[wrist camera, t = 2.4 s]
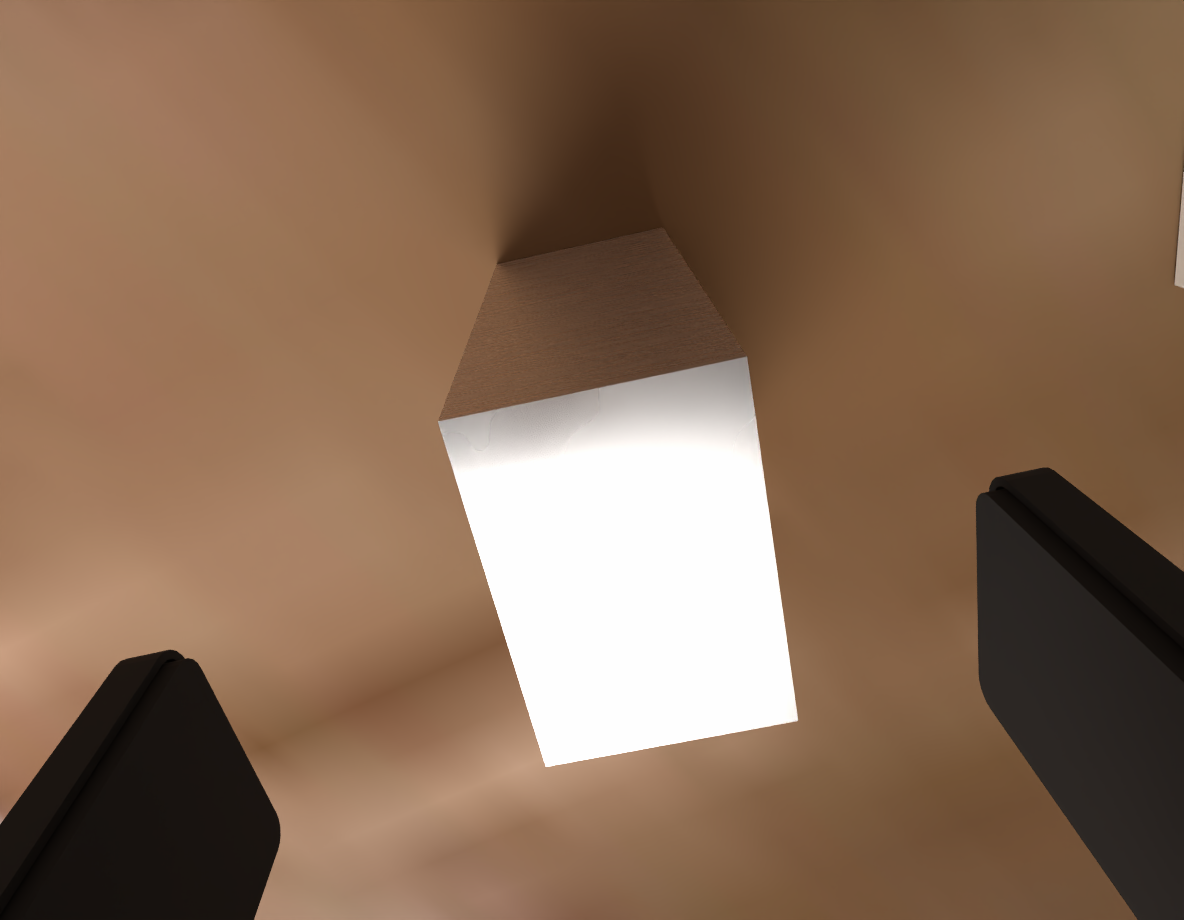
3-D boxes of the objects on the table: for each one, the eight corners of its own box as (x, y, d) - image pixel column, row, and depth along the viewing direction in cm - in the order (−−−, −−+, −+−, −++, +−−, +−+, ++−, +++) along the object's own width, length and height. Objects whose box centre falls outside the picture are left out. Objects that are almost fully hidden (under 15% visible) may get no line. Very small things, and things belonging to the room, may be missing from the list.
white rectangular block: (662, 227, 20) (747, 356, 10) (702, 455, 22) (797, 721, 13) (497, 264, 20) (438, 421, 11) (554, 485, 22) (546, 766, 13)
